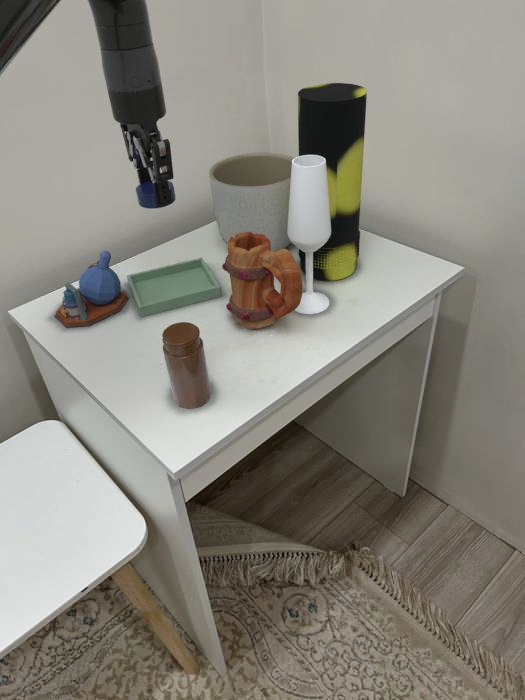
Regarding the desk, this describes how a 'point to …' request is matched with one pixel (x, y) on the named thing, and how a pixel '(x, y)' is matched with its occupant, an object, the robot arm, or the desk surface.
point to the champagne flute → (309, 220)
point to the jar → (186, 365)
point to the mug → (261, 280)
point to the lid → (151, 195)
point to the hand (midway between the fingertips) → (155, 197)
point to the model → (92, 296)
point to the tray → (173, 286)
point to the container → (335, 168)
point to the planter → (253, 196)
